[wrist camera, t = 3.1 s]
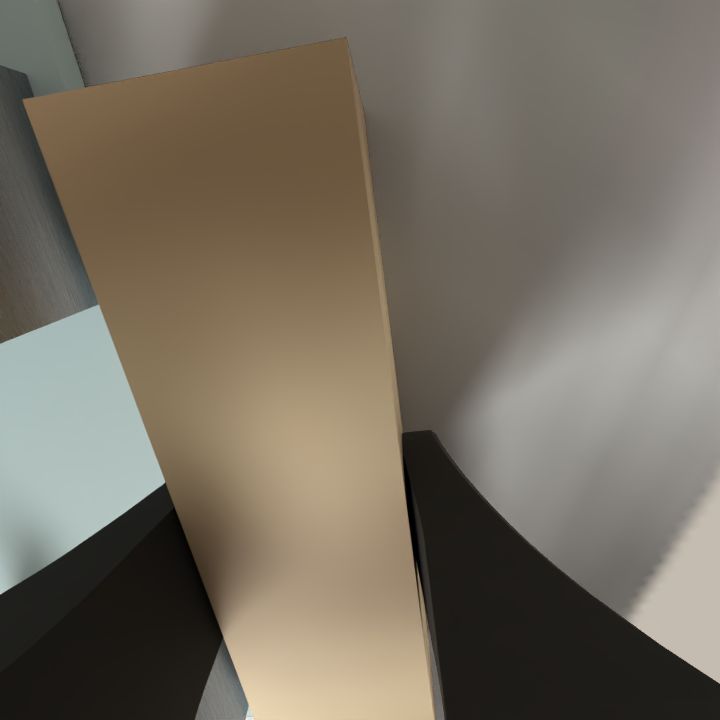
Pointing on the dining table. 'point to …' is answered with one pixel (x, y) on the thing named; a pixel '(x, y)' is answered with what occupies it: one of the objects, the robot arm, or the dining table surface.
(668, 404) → the dining table surface
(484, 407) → the dining table surface
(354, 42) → the dining table surface
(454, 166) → the dining table surface
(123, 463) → the board
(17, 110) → the bracket
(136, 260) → the rail
